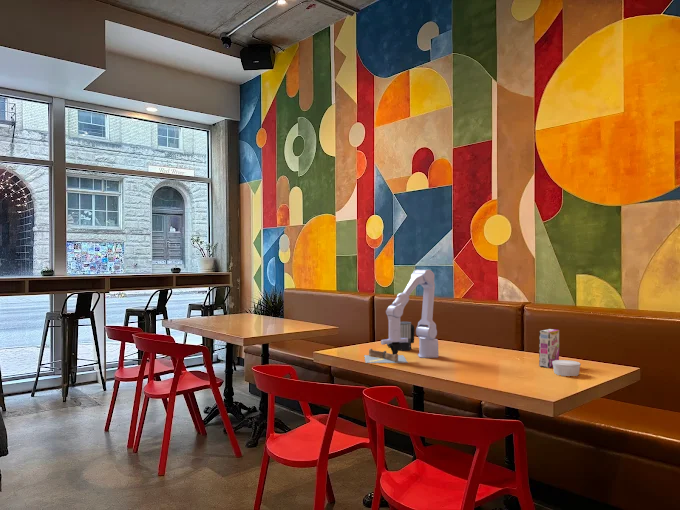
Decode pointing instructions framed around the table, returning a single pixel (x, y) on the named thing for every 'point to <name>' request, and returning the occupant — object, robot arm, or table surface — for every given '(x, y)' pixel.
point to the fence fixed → (377, 353)
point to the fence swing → (391, 357)
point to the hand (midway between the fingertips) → (394, 358)
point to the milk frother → (406, 335)
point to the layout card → (381, 360)
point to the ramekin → (566, 367)
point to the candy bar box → (548, 347)
